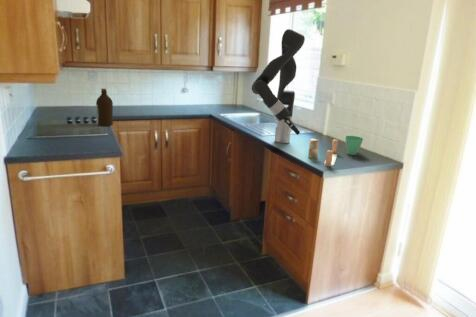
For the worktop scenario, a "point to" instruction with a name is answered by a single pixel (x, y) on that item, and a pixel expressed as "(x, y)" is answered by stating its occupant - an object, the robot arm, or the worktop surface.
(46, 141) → the worktop surface
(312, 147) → the brown upright block
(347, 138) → the mug
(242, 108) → the worktop surface
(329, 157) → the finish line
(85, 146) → the worktop surface
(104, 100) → the olive oil
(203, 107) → the worktop surface
